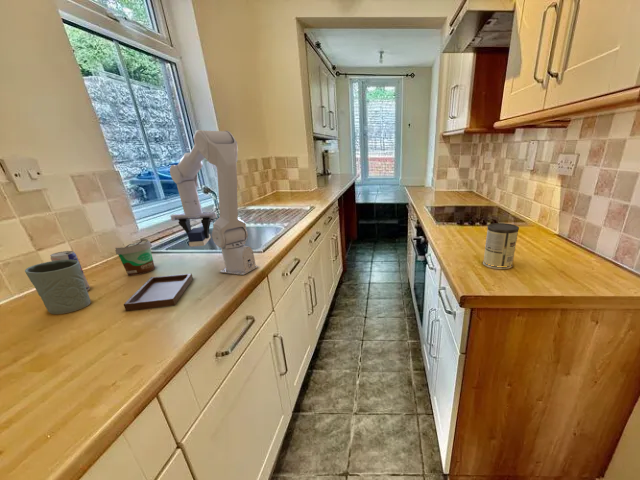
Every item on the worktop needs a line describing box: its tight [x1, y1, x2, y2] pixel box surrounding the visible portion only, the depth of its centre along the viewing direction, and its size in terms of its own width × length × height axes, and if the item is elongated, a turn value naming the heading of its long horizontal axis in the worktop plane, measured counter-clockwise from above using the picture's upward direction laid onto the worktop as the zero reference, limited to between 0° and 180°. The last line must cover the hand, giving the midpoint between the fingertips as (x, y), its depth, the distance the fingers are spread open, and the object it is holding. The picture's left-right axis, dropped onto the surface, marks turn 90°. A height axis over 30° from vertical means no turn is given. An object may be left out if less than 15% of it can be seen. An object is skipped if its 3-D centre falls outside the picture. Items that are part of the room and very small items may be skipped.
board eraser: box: [186, 227, 212, 248], centre depth 118 cm, size 11×5×5 cm, turn 15°
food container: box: [115, 237, 156, 276], centre depth 110 cm, size 12×6×10 cm, turn 179°
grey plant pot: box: [24, 260, 92, 315], centre depth 84 cm, size 10×10×12 cm
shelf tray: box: [123, 272, 194, 312], centre depth 94 cm, size 12×20×2 cm, turn 16°
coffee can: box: [482, 222, 520, 270], centre depth 112 cm, size 10×10×14 cm
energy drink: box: [50, 250, 91, 292], centre depth 93 cm, size 5×5×12 cm
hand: (199, 238), depth 119 cm, fingers closed on board eraser, 5 cm apart
